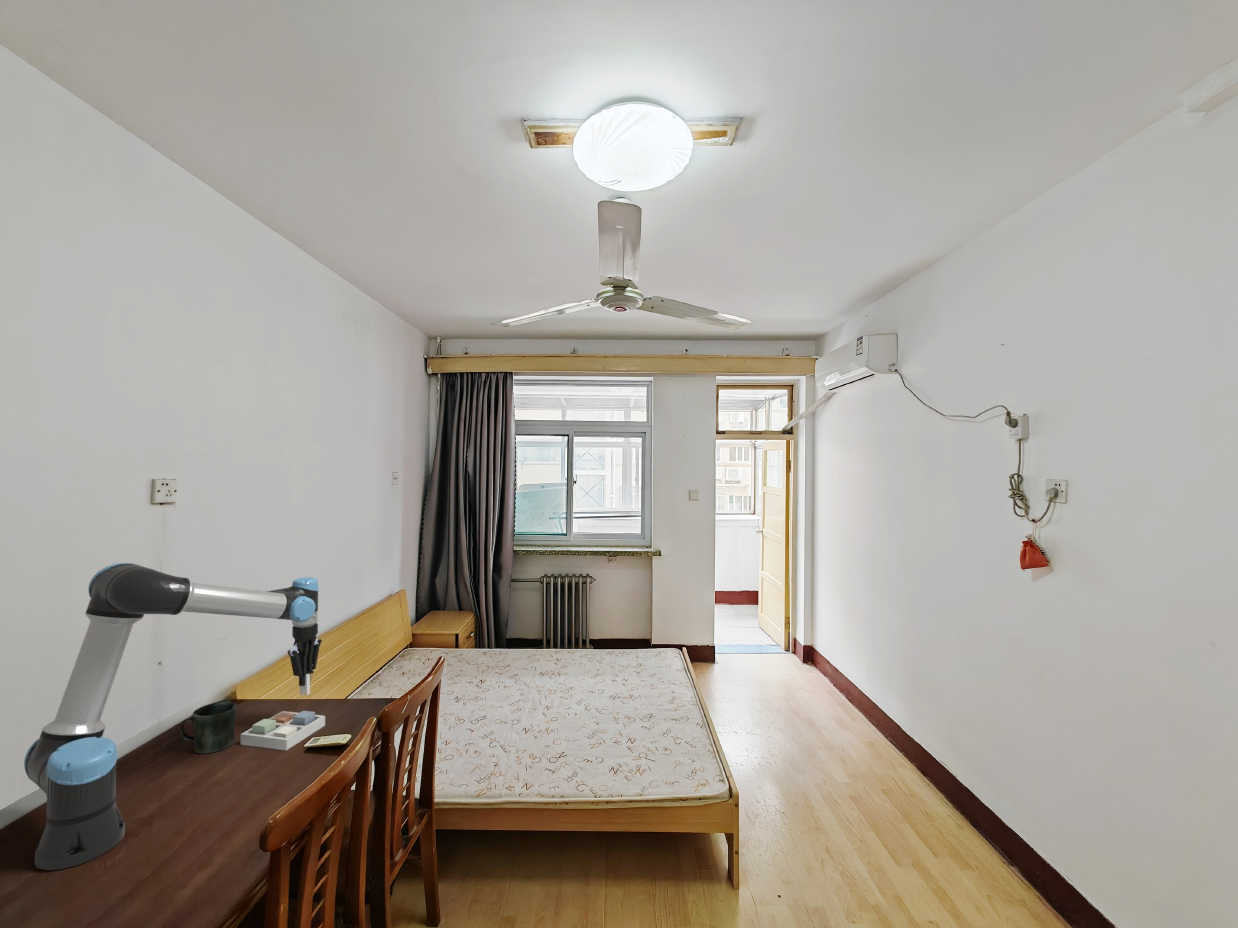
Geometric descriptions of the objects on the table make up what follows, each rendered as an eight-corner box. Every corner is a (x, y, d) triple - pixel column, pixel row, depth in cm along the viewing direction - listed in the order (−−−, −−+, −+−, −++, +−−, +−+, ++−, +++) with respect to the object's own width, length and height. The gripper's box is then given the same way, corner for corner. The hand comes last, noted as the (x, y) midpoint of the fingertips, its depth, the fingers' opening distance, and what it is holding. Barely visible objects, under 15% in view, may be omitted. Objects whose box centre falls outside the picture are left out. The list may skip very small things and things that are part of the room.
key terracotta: (283, 729, 185) (284, 719, 185) (272, 727, 186) (272, 718, 186) (294, 722, 190) (294, 713, 190) (282, 721, 191) (283, 712, 191)
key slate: (304, 727, 184) (304, 717, 184) (292, 725, 185) (292, 716, 185) (314, 720, 188) (315, 711, 188) (303, 719, 189) (303, 710, 189)
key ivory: (285, 743, 176) (286, 733, 176) (273, 741, 177) (273, 732, 177) (296, 736, 181) (297, 727, 181) (284, 735, 181) (284, 725, 181)
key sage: (264, 736, 178) (264, 726, 178) (252, 734, 178) (252, 724, 178) (275, 729, 182) (276, 719, 182) (263, 727, 183) (264, 718, 183)
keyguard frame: (286, 750, 174) (286, 739, 174) (240, 744, 177) (240, 733, 177) (325, 725, 190) (325, 715, 190) (282, 720, 193) (282, 710, 193)
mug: (232, 750, 173) (232, 712, 173) (174, 760, 167) (174, 720, 167) (239, 735, 183) (239, 698, 183) (184, 743, 177) (185, 706, 177)
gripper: (300, 630, 179) (299, 702, 180) (328, 619, 192) (328, 686, 192) (280, 629, 181) (279, 700, 181) (309, 618, 194) (309, 685, 194)
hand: (304, 693), depth 187 cm, fingers closed
